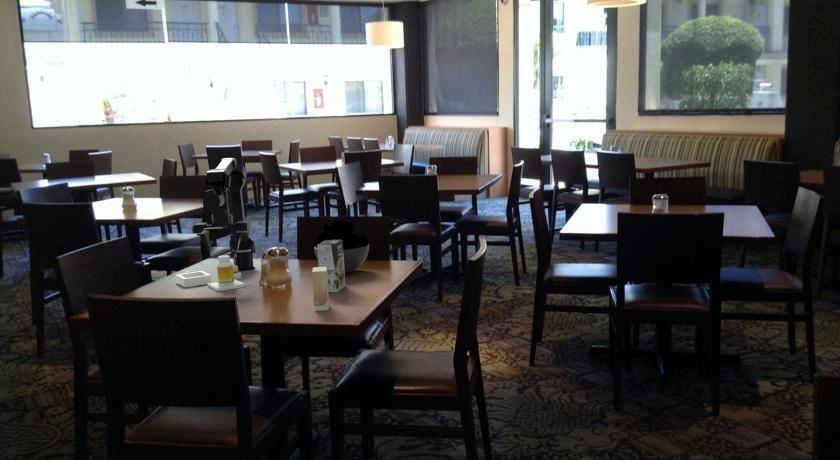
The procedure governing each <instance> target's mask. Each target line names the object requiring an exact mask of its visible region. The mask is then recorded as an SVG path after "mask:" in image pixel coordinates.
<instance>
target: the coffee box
mask: <svg viewBox="0 0 840 460" xmlns="http://www.w3.org/2000/svg"><path fill="white" fill-rule="evenodd" d="M316 245H317V249H318V259H317V265H318V266H317V267H327V277H328V293H339V291H341V290H342V289H343V288H345V287H346V275H345V274H346V273H345V271H344V254H343V240H325V241H323V242H321V243H319V244H316Z"/></svg>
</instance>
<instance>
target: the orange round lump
mask: <svg viewBox="0 0 840 460" xmlns="http://www.w3.org/2000/svg"><path fill="white" fill-rule="evenodd" d="M236 271H239V270H238V266H237V265H234V264H233V273H234V272H236Z"/></svg>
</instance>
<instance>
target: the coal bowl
mask: <svg viewBox="0 0 840 460" xmlns="http://www.w3.org/2000/svg"><path fill="white" fill-rule="evenodd" d="M353 228H354V227H353V224H352V223H350V222H348V221H345V220H337V221H334V222H333V223H332V224H329V225H328V224H323V232H322V233H321V235H319V237H318V238H317V240H316V243H317V244H319V243H321V242H323V241H325V240H343V254H344V271H345V274H347V273H350V272H353V271H355V270H357V269H358V268H360V267H361V265H363V263H365V260H367V257H368V254H369V250H370V244H369V241H368V238H367V236H366V235H364V234H363V235H360V236H358V235H357V234H353ZM317 244H316V245H315V246H314V247H313V251H314V254H315V257H316V259H317V260H318V249H317Z"/></svg>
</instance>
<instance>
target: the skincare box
mask: <svg viewBox="0 0 840 460" xmlns="http://www.w3.org/2000/svg"><path fill="white" fill-rule="evenodd" d="M311 273H312V274H311V276H312V292H313V293H312V294H313V306H314V312H319V311H323V312H324V311H329V309H330V297H329V296H330V294H329V292H328V277H327V267H318V266H316V267H315V266H313V267H312V270H311Z"/></svg>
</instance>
